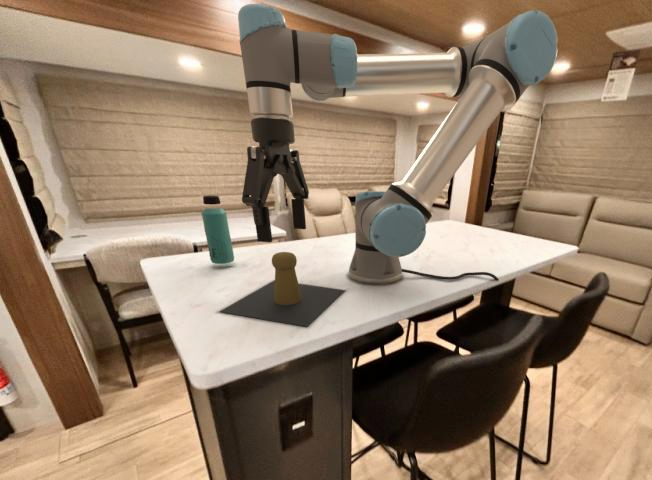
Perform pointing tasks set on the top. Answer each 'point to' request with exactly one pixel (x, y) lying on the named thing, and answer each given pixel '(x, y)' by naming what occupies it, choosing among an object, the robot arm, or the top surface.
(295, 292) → the cork
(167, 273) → the top surface
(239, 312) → the felt mat
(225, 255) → the beverage bottle
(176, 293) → the top surface
